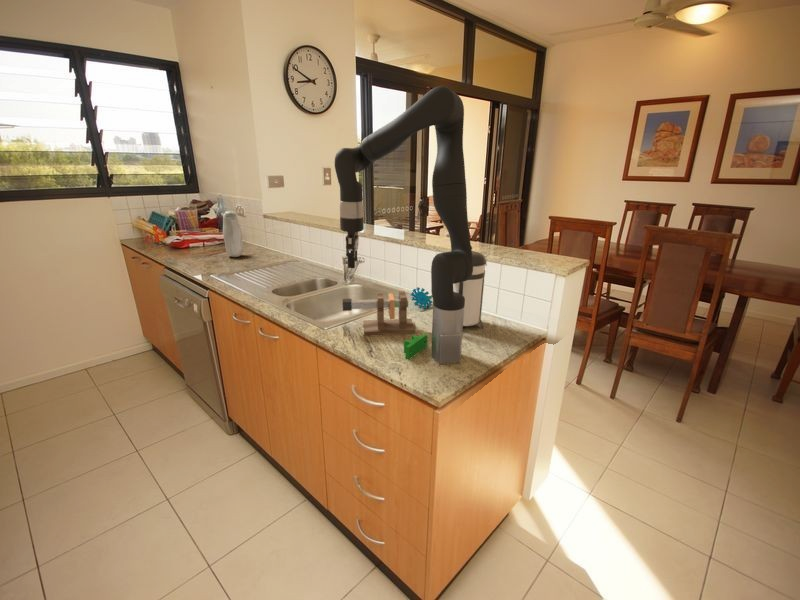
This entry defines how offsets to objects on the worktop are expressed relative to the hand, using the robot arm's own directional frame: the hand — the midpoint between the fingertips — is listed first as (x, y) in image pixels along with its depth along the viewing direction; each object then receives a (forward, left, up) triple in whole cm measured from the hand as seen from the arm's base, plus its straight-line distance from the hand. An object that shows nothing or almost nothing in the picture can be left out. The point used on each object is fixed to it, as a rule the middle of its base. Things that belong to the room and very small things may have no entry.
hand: (352, 264), depth 126 cm
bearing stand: (0, -12, -25) cm, 27 cm away
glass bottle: (+116, +74, -25) cm, 140 cm away
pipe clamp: (-17, -19, -25) cm, 36 cm away
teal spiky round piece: (+21, -28, -25) cm, 43 cm away
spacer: (0, -13, -19) cm, 23 cm away
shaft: (0, -7, -16) cm, 18 cm away
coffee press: (+1, -39, -25) cm, 46 cm away
